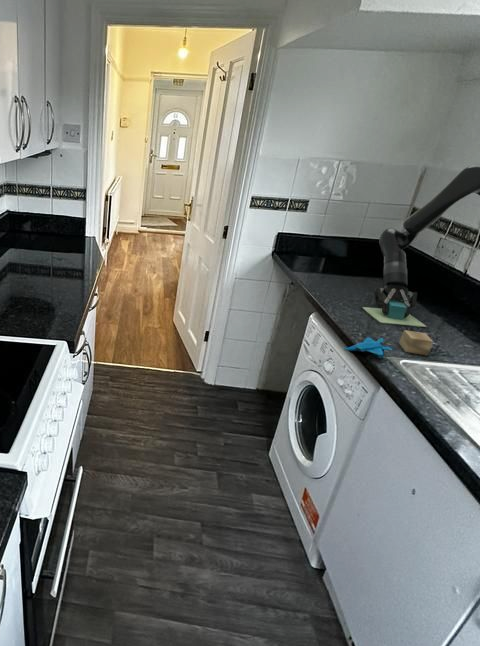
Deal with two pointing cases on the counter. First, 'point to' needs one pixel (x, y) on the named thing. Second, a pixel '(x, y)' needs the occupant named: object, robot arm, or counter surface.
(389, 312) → the top cube
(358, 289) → the counter surface
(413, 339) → the base block
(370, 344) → the toy airplane
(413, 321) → the mat
